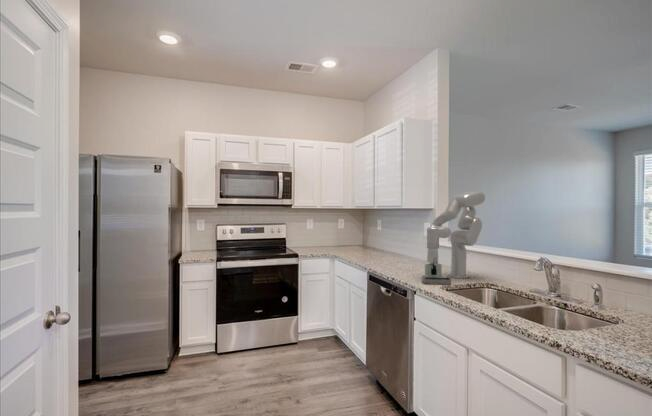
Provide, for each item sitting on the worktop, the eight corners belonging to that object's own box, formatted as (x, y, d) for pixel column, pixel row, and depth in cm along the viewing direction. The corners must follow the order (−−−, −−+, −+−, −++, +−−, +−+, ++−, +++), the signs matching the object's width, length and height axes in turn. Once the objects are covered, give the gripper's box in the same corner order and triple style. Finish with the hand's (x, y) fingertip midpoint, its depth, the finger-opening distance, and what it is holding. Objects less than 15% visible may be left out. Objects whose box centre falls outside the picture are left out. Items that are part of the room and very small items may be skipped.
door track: (421, 281, 207) (422, 275, 207) (447, 282, 206) (447, 276, 206) (424, 284, 200) (424, 277, 200) (451, 285, 199) (451, 278, 199)
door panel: (424, 275, 216) (424, 263, 215) (440, 275, 215) (440, 263, 215) (425, 276, 213) (425, 264, 212) (441, 277, 212) (441, 264, 212)
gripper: (424, 244, 222) (424, 271, 222) (430, 248, 205) (430, 277, 206) (435, 244, 221) (435, 271, 221) (442, 248, 205) (442, 277, 205)
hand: (433, 273), depth 214 cm, fingers closed on door panel, 3 cm apart
